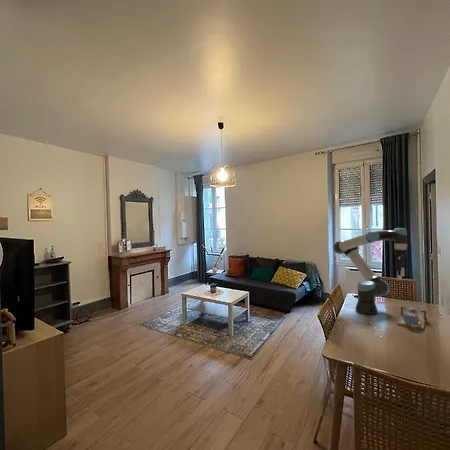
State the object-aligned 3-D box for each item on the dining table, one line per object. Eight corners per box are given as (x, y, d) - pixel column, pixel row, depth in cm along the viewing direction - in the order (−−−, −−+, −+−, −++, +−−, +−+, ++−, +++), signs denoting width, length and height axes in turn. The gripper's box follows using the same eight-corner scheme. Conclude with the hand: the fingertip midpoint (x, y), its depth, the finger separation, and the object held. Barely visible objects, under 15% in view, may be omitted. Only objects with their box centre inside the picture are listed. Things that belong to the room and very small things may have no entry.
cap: (399, 319, 175) (399, 311, 175) (410, 318, 176) (410, 310, 176) (411, 325, 165) (411, 317, 164) (423, 325, 165) (423, 316, 165)
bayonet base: (397, 324, 171) (397, 314, 171) (402, 313, 191) (402, 303, 191) (424, 330, 162) (423, 319, 162) (426, 317, 181) (426, 308, 181)
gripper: (404, 251, 172) (404, 282, 172) (408, 247, 190) (409, 275, 191) (391, 250, 177) (391, 280, 177) (397, 247, 195) (397, 274, 196)
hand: (400, 277), depth 184 cm, fingers open, 13 cm apart
